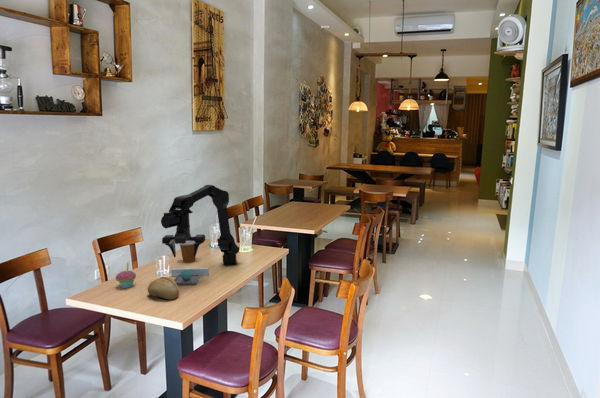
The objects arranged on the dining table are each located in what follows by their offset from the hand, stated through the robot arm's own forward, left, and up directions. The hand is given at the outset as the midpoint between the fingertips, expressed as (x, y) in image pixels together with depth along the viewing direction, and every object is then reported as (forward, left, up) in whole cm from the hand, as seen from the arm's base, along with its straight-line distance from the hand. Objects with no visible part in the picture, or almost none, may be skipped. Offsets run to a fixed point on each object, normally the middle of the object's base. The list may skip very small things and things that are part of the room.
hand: (184, 257), depth 208 cm
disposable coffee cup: (+6, -32, -12) cm, 34 cm away
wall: (0, -8, -12) cm, 14 cm away
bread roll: (+5, +18, -12) cm, 23 cm away
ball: (0, 0, -9) cm, 9 cm away
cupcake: (+26, +5, -12) cm, 29 cm away
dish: (0, 0, -12) cm, 12 cm away
